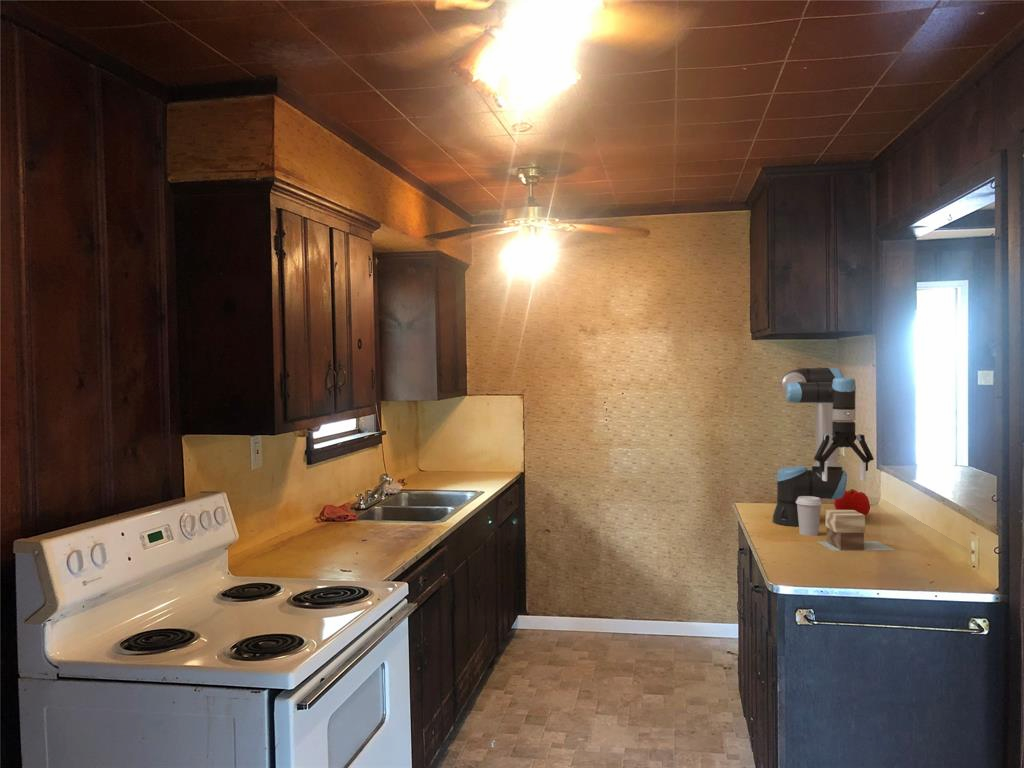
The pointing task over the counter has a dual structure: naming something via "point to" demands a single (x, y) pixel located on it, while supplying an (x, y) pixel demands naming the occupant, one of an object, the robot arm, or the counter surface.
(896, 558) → the counter surface
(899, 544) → the counter surface
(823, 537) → the counter surface
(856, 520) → the oak brick
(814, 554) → the counter surface
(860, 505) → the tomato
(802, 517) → the coffee cup
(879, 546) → the board
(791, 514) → the robot arm
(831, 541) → the walnut base brick
